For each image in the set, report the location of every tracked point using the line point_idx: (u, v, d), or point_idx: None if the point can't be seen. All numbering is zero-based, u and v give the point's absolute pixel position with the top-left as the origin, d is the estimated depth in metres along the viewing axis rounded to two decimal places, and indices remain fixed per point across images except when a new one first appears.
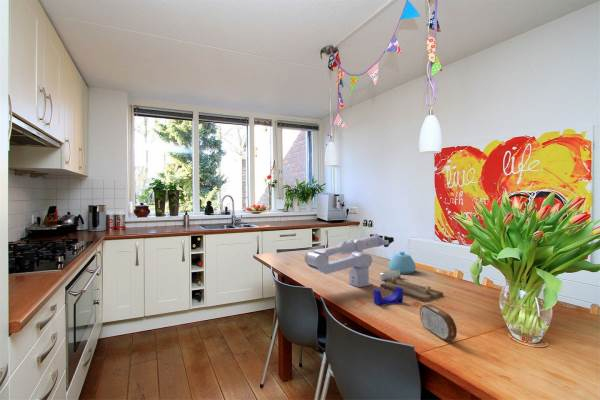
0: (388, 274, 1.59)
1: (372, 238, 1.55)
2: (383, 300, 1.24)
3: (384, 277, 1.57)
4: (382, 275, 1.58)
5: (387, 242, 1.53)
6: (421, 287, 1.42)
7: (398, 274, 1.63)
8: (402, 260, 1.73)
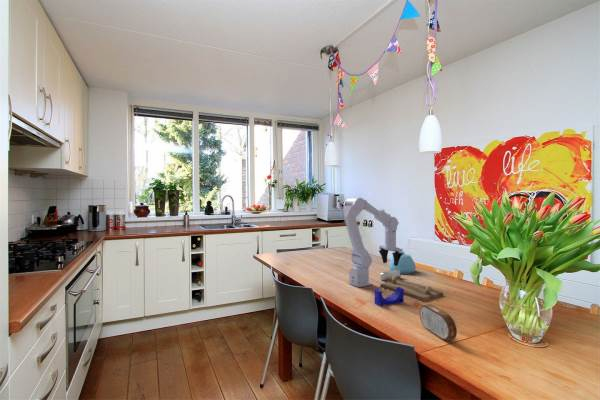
0: (388, 274, 1.59)
1: None
2: (384, 300, 1.24)
3: (384, 277, 1.57)
4: (382, 275, 1.58)
5: (401, 251, 1.55)
6: (421, 287, 1.42)
7: (398, 274, 1.63)
8: (402, 260, 1.73)
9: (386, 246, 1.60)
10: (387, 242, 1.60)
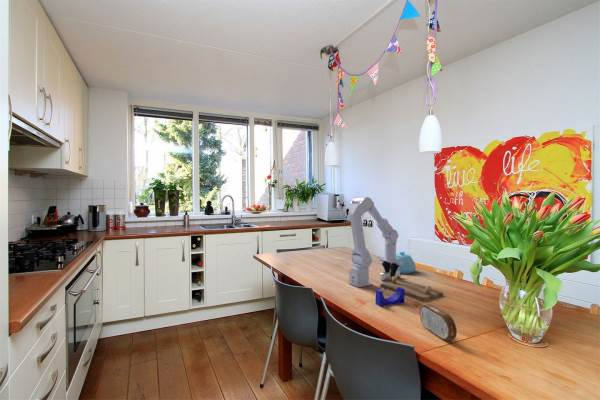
0: (388, 274, 1.59)
1: None
2: (385, 301, 1.23)
3: (384, 277, 1.57)
4: (382, 275, 1.58)
5: (401, 263, 1.56)
6: (421, 287, 1.42)
7: (398, 274, 1.63)
8: (402, 260, 1.73)
9: (386, 258, 1.60)
10: (387, 254, 1.60)
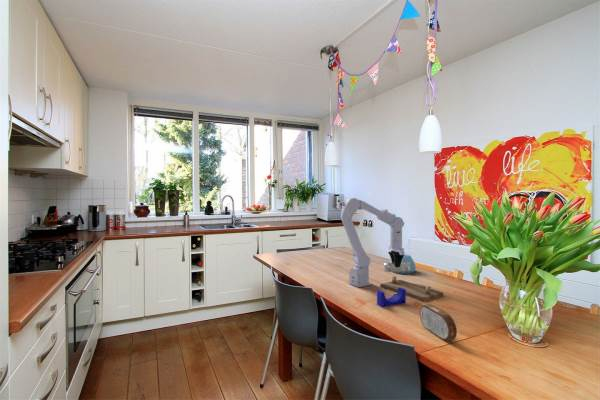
0: (392, 265, 1.53)
1: (401, 241, 1.54)
2: (387, 301, 1.23)
3: (386, 267, 1.53)
4: (385, 265, 1.54)
5: (402, 253, 1.48)
6: (421, 287, 1.42)
7: (406, 266, 1.54)
8: (402, 260, 1.73)
9: (390, 247, 1.55)
10: (391, 243, 1.54)
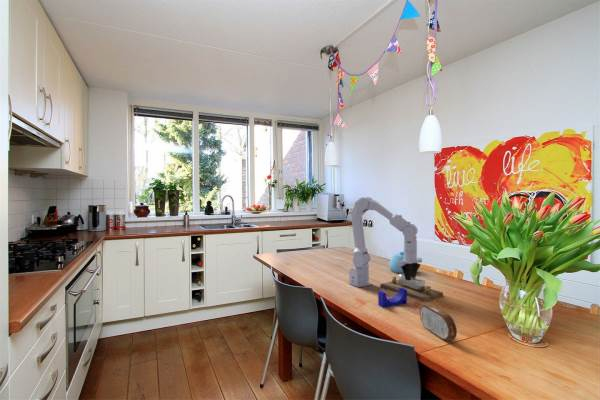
0: (404, 278, 1.43)
1: (411, 252, 1.38)
2: (388, 302, 1.22)
3: None
4: None
5: (399, 263, 1.37)
6: None
7: (417, 284, 1.36)
8: None
9: None
10: None
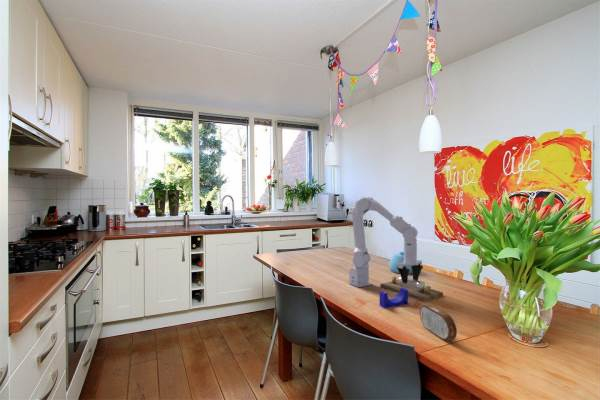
0: None
1: (411, 255, 1.38)
2: (389, 303, 1.22)
3: None
4: None
5: (399, 266, 1.37)
6: None
7: (417, 286, 1.36)
8: (402, 260, 1.73)
9: None
10: None
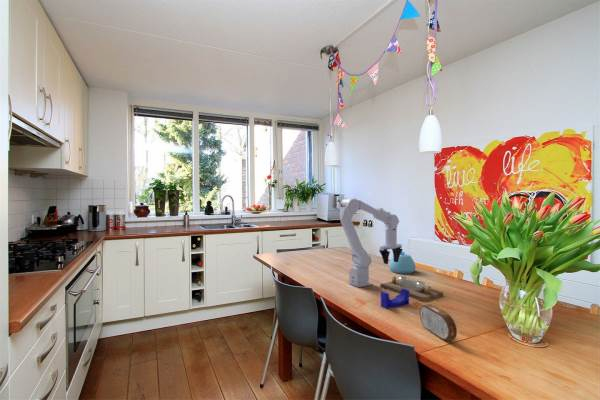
0: (403, 280, 1.43)
1: (391, 239, 1.56)
2: (391, 303, 1.21)
3: None
4: None
5: (381, 248, 1.55)
6: None
7: (417, 286, 1.36)
8: (402, 260, 1.73)
9: None
10: None
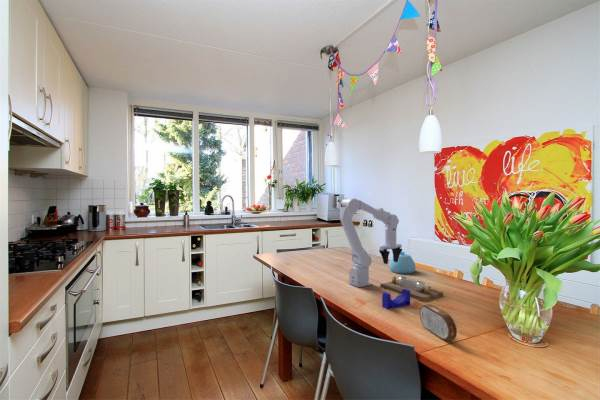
0: (403, 280, 1.43)
1: (391, 239, 1.56)
2: (392, 303, 1.20)
3: None
4: None
5: (381, 248, 1.55)
6: None
7: (417, 286, 1.36)
8: (402, 260, 1.73)
9: None
10: None
